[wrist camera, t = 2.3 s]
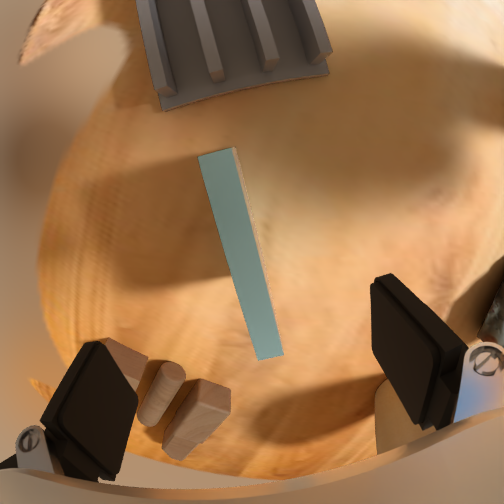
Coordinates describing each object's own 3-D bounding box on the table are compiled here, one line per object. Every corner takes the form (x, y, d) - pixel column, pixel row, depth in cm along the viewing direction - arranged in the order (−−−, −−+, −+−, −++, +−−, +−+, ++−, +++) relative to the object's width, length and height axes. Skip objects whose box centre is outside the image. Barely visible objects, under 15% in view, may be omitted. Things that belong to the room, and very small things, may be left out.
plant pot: (347, 426, 40) (372, 505, 25) (358, 364, 34) (402, 462, 19) (423, 402, 40) (459, 468, 25) (447, 339, 34) (504, 411, 19)
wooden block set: (235, 416, 30) (183, 468, 35) (235, 383, 35) (186, 441, 40) (94, 359, 26) (80, 428, 31) (111, 329, 32) (91, 402, 37)
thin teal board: (235, 146, 25) (231, 147, 13) (266, 268, 29) (283, 354, 17) (218, 151, 25) (197, 156, 13) (250, 271, 29) (258, 360, 17)
